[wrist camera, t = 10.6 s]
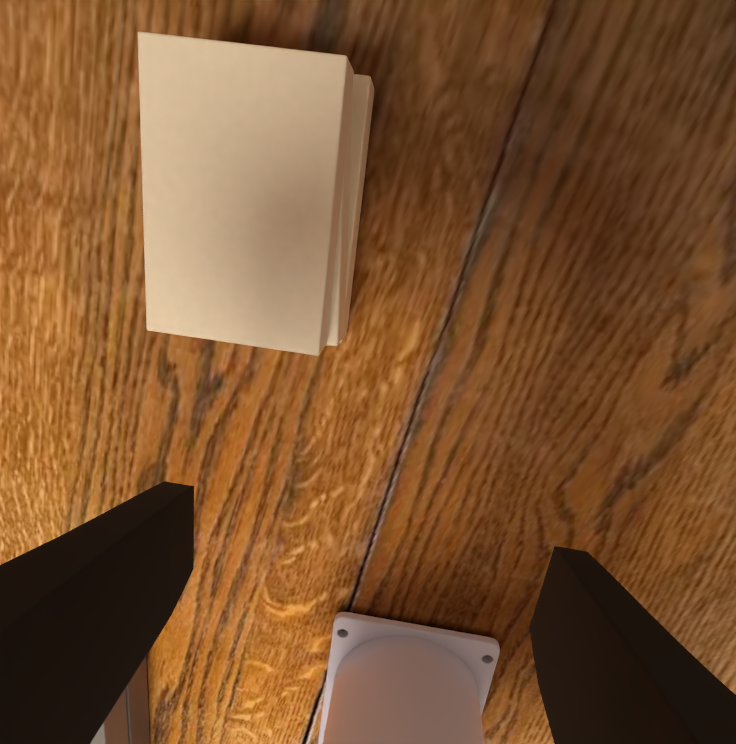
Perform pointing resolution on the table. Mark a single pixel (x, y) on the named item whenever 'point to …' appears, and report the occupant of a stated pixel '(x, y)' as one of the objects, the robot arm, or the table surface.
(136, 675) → the grey books
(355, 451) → the table surface
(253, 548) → the table surface
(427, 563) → the table surface
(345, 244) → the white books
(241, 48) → the cream rectangular slab
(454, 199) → the table surface
